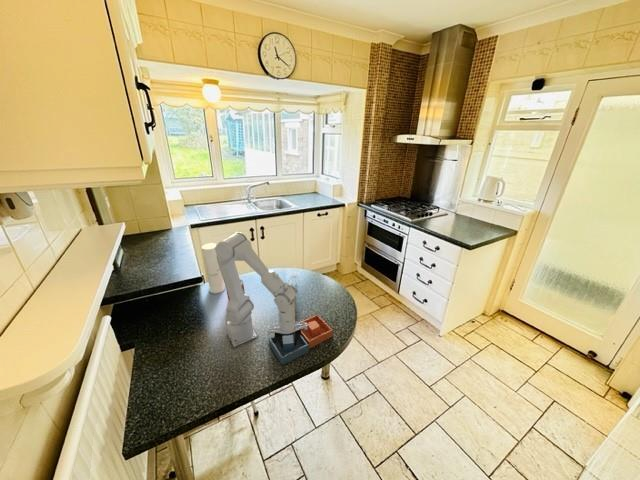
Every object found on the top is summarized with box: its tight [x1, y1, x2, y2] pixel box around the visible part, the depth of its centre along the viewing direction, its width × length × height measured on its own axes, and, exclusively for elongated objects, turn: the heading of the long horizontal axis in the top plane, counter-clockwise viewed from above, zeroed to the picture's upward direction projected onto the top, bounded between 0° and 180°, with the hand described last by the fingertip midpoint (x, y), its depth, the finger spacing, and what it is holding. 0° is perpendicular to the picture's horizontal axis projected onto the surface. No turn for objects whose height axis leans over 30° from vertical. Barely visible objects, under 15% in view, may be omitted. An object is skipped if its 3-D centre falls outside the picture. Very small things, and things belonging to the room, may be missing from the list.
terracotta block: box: [307, 321, 320, 337], centre depth 105 cm, size 4×4×4 cm
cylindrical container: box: [200, 242, 226, 294], centre depth 128 cm, size 7×7×25 cm
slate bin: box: [268, 332, 310, 366], centre depth 98 cm, size 11×11×4 cm
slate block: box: [283, 335, 294, 352], centre depth 98 cm, size 4×4×4 cm
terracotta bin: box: [301, 313, 334, 350], centre depth 105 cm, size 11×11×4 cm
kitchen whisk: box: [287, 274, 301, 314], centre depth 123 cm, size 6×34×6 cm
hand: (288, 344), depth 98 cm, fingers open, 4 cm apart
